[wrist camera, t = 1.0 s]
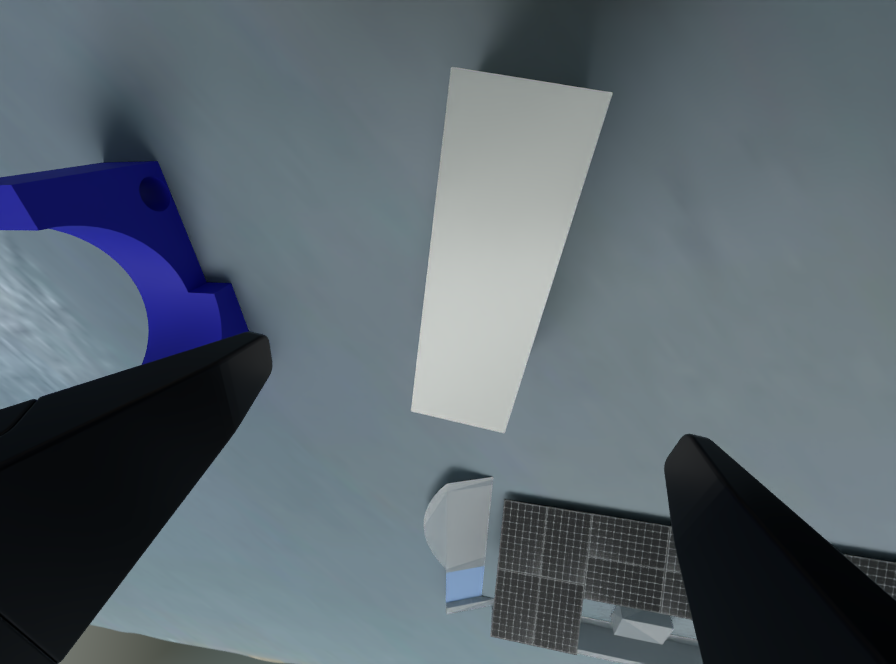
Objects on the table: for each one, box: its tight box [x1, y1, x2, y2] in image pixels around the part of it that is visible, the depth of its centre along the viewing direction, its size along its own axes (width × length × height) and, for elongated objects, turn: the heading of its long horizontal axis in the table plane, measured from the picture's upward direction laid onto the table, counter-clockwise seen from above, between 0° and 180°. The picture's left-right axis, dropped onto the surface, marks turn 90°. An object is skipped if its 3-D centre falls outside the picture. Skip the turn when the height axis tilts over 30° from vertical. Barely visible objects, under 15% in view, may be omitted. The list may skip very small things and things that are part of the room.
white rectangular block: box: [411, 67, 613, 433], centre depth 15 cm, size 4×12×5 cm, turn 172°
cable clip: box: [0, 161, 249, 365], centre depth 18 cm, size 12×4×6 cm, turn 3°
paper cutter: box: [424, 477, 896, 664], centre depth 24 cm, size 18×45×6 cm, turn 90°
